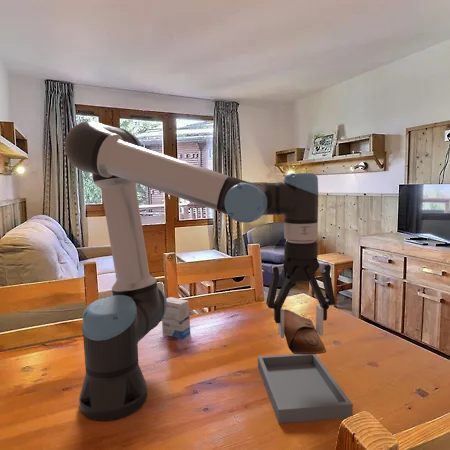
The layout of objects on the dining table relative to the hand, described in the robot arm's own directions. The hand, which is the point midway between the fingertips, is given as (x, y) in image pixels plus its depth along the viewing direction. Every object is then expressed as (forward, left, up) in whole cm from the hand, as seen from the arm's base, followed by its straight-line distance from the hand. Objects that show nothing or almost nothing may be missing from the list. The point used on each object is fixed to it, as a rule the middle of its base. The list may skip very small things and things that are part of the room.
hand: (300, 334), depth 85 cm
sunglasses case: (0, 0, -1) cm, 1 cm away
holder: (0, 0, -14) cm, 14 cm away
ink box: (-31, +36, -14) cm, 50 cm away
